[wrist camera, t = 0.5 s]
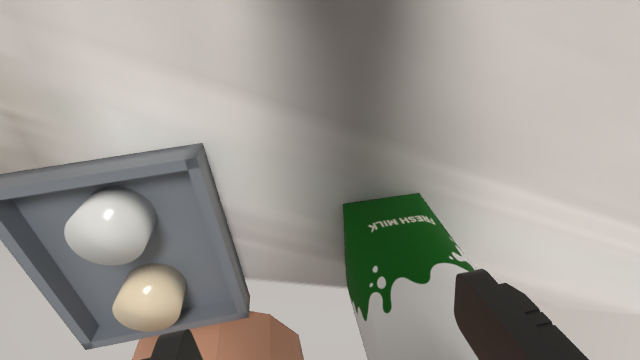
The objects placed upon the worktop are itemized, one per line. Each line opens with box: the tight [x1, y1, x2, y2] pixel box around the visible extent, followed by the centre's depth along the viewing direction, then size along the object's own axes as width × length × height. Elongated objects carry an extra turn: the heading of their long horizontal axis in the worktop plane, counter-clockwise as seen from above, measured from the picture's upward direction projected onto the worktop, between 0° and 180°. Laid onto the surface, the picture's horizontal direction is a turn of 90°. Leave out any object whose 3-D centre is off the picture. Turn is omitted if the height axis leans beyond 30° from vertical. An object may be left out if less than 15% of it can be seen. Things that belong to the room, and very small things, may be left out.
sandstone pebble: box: [112, 263, 187, 332], centre depth 28 cm, size 5×5×3 cm
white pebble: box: [64, 187, 157, 266], centre depth 24 cm, size 5×5×3 cm
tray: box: [0, 143, 250, 350], centre depth 26 cm, size 16×14×2 cm
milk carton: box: [343, 193, 479, 360], centre depth 22 cm, size 9×9×20 cm
